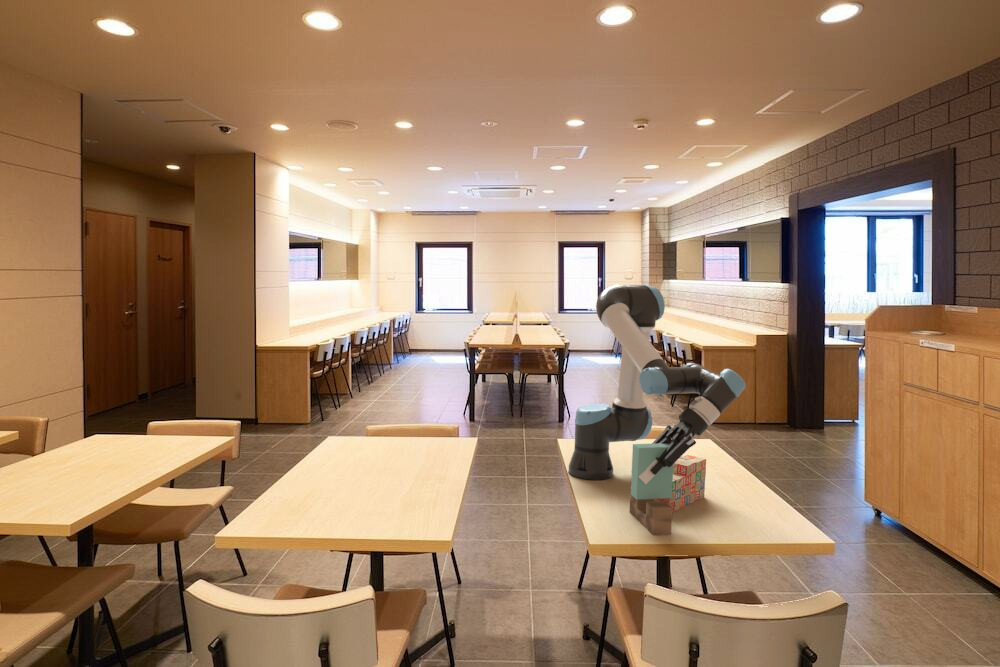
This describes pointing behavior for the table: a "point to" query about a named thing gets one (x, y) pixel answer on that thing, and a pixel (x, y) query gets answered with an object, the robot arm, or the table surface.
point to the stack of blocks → (687, 481)
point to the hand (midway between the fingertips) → (638, 477)
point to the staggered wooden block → (652, 514)
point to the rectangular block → (660, 482)
